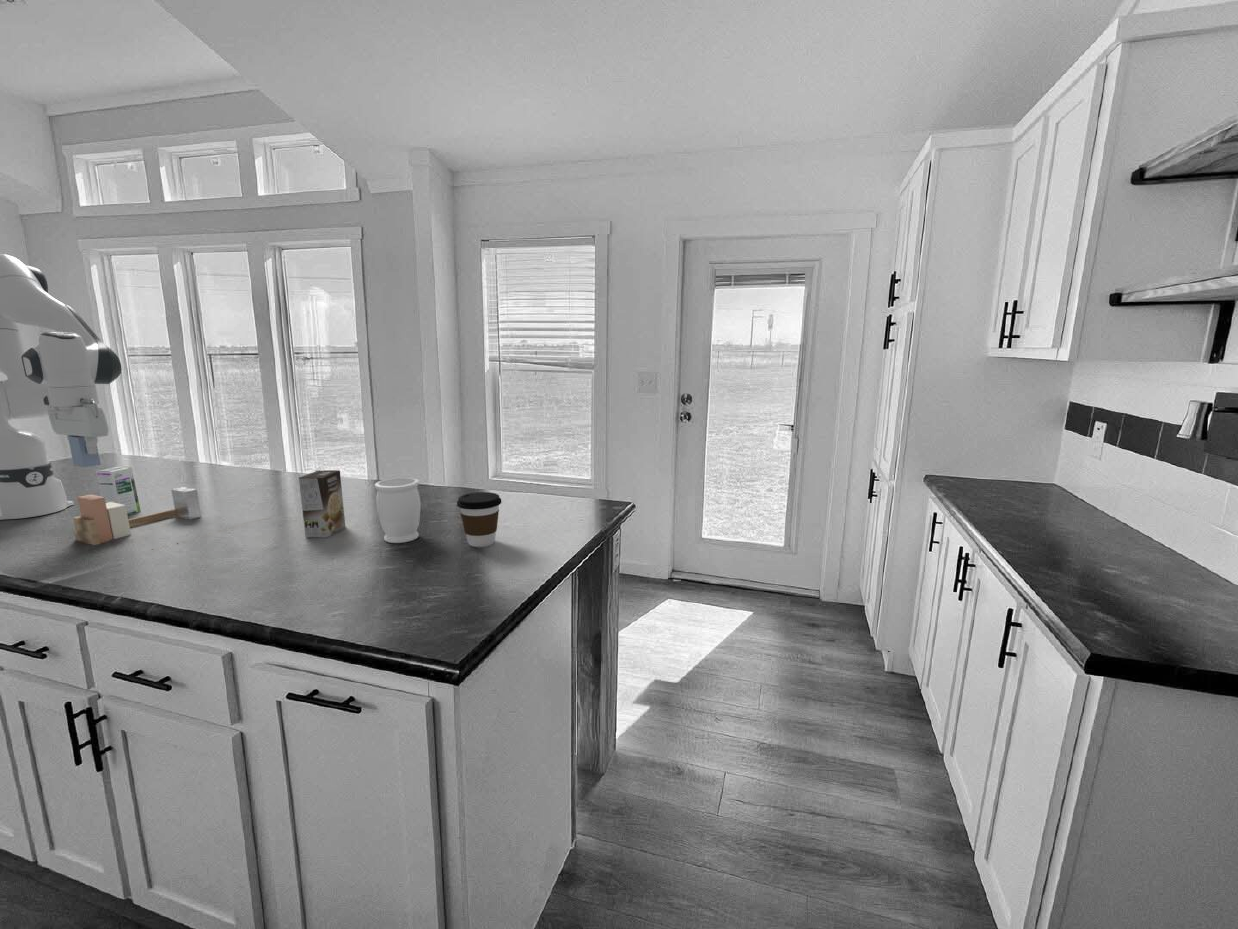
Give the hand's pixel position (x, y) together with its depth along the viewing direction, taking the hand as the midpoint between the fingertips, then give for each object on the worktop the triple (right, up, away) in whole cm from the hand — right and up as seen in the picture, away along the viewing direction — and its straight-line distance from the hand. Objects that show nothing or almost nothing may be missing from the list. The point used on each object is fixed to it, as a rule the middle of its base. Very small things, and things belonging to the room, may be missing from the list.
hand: (85, 453), depth 145 cm
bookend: (+13, -18, +18) cm, 28 cm away
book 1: (+4, -22, 0) cm, 22 cm away
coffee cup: (+101, -23, 0) cm, 103 cm away
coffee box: (+57, -21, +8) cm, 61 cm away
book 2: (+5, -21, +3) cm, 22 cm away
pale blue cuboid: (0, -3, +1) cm, 3 cm away
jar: (+79, -22, +3) cm, 82 cm away
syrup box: (-9, -18, +21) cm, 29 cm away
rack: (+8, -21, +9) cm, 24 cm away
